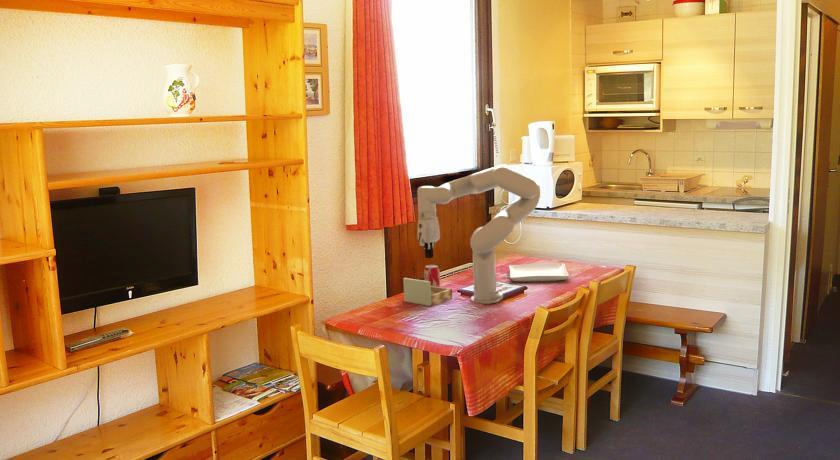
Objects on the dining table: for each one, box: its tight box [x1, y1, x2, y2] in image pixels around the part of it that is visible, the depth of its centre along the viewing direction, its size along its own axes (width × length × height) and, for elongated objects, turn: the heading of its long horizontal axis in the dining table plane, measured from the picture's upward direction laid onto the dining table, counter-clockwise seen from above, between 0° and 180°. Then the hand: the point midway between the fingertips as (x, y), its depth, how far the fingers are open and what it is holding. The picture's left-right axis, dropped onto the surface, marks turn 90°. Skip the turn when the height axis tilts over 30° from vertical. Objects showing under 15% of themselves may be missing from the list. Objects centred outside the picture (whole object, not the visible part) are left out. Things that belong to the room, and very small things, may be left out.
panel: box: [402, 277, 432, 307], centre depth 325 cm, size 1×14×11 cm, turn 50°
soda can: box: [423, 264, 441, 287], centre depth 346 cm, size 7×7×12 cm
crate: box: [431, 286, 453, 307], centre depth 331 cm, size 13×15×5 cm
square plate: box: [508, 262, 570, 283], centre depth 368 cm, size 27×27×4 cm
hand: (429, 257), depth 329 cm, fingers closed
